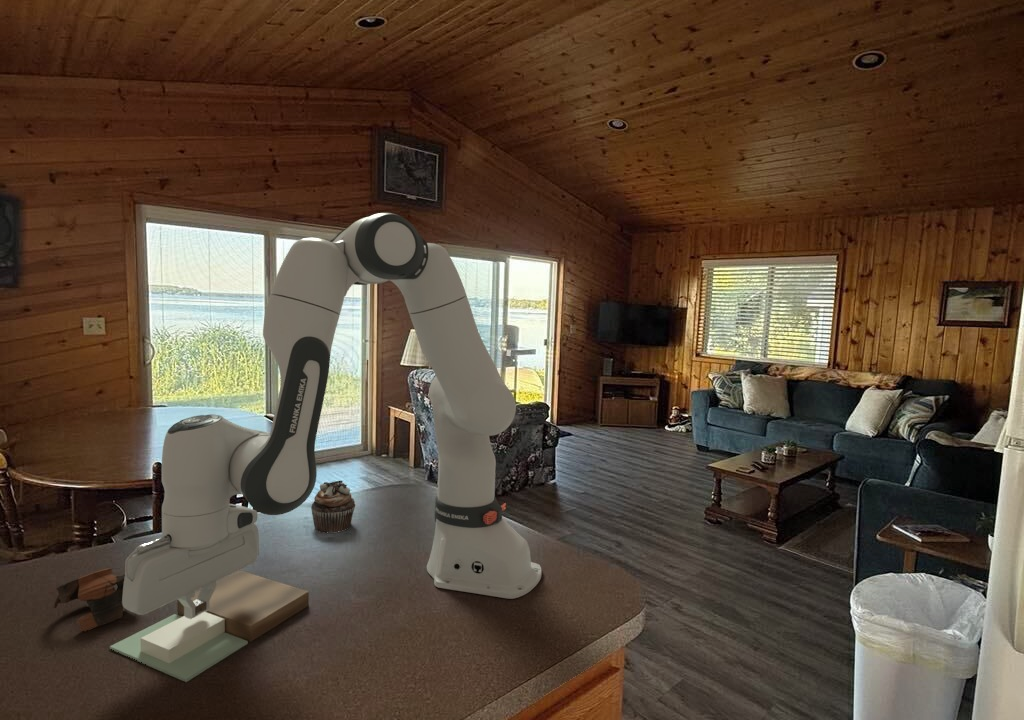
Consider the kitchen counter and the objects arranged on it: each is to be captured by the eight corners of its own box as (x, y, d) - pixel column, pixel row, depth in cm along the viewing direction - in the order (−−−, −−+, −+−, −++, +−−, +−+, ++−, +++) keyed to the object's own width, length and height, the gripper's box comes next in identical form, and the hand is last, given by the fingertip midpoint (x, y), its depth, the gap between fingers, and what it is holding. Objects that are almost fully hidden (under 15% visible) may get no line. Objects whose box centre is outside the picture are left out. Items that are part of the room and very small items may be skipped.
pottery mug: (57, 644, 85) (42, 590, 87) (72, 640, 93) (58, 590, 95) (150, 605, 91) (134, 554, 93) (156, 604, 99) (143, 558, 101)
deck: (308, 605, 98) (308, 591, 98) (250, 642, 87) (250, 626, 87) (239, 583, 104) (239, 570, 104) (177, 614, 93) (177, 600, 93)
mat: (247, 643, 86) (247, 641, 86) (186, 682, 77) (186, 679, 77) (174, 616, 93) (174, 613, 93) (109, 649, 84) (109, 646, 84)
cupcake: (303, 524, 132) (304, 481, 132) (342, 515, 139) (343, 474, 138) (321, 538, 126) (322, 493, 125) (362, 528, 132) (363, 485, 131)
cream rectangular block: (197, 621, 91) (197, 609, 91) (224, 631, 89) (224, 619, 88) (140, 651, 83) (140, 638, 83) (169, 663, 80) (168, 649, 80)
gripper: (141, 555, 75) (142, 656, 77) (265, 508, 94) (265, 590, 95) (110, 545, 78) (112, 643, 79) (237, 501, 97) (237, 581, 98)
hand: (196, 613), depth 87 cm, fingers closed
